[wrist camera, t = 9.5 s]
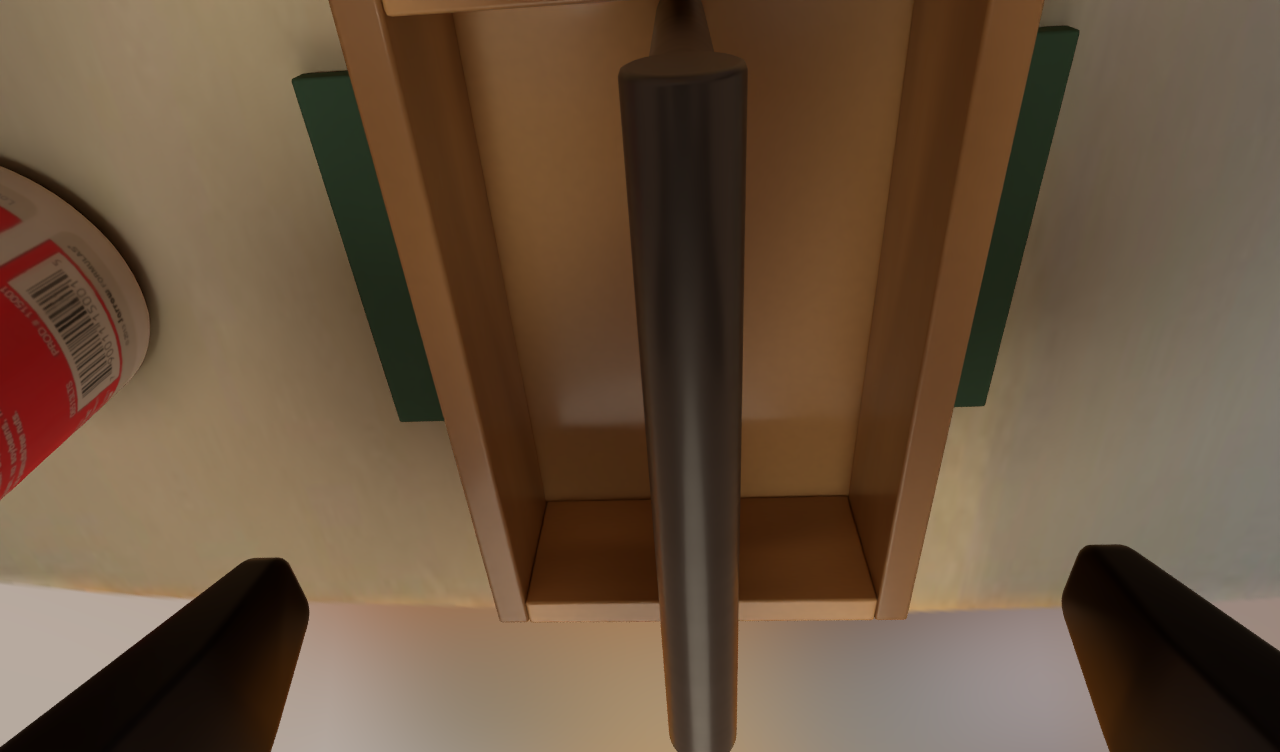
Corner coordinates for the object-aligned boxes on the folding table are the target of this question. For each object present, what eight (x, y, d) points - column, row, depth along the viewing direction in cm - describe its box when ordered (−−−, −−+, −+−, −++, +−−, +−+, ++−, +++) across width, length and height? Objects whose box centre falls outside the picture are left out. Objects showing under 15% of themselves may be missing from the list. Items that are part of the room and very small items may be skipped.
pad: (1068, 25, 13) (1082, 29, 12) (978, 394, 17) (985, 407, 17) (300, 73, 14) (289, 78, 13) (405, 410, 18) (399, 423, 18)
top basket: (964, -100, 11) (1292, -92, 5) (869, 503, 18) (962, 794, 12) (405, -58, 12) (131, -8, 6) (526, 509, 19) (458, 789, 13)
